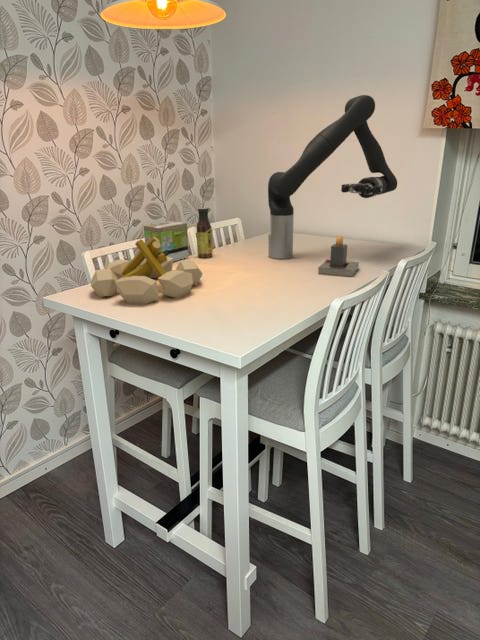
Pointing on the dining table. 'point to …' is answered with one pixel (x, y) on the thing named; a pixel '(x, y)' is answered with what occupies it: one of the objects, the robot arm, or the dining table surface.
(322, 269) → the socket
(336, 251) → the plug
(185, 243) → the tea box
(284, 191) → the robot arm
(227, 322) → the dining table surface
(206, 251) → the sauce bottle
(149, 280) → the campfire
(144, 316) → the dining table surface
